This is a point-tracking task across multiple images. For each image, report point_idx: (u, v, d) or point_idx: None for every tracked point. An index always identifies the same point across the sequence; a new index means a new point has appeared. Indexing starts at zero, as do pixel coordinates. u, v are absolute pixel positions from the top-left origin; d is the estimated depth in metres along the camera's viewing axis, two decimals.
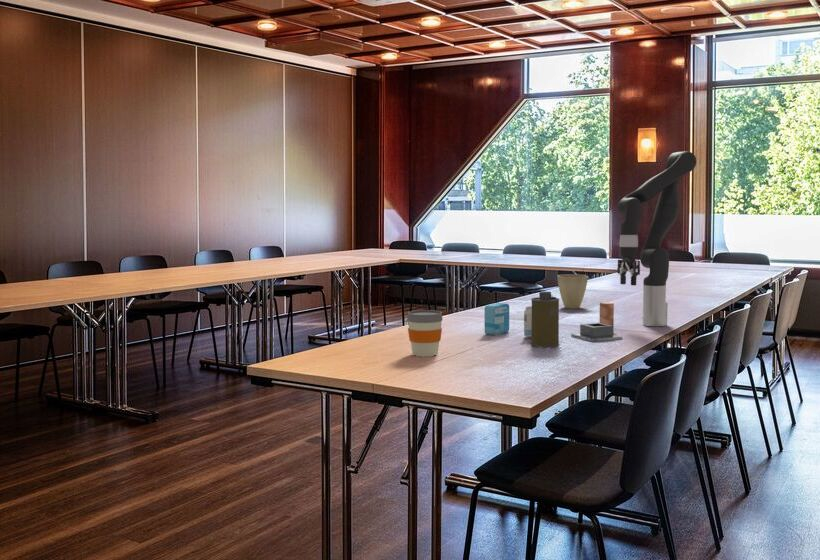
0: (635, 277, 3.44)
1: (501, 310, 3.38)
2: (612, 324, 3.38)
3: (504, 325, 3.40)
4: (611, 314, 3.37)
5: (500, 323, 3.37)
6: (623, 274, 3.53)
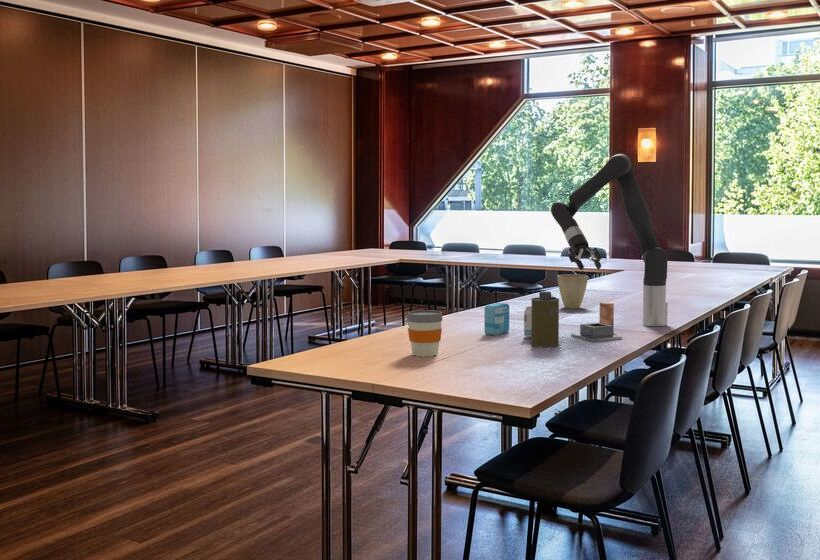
0: (577, 262, 3.47)
1: (501, 310, 3.38)
2: (612, 324, 3.38)
3: (504, 325, 3.40)
4: (611, 314, 3.37)
5: (500, 323, 3.37)
6: (595, 260, 3.51)
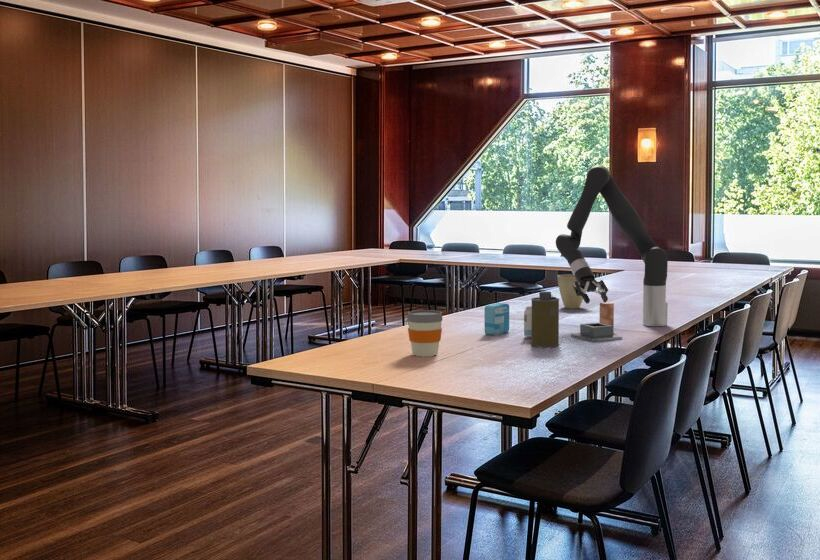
0: (583, 295, 3.44)
1: (501, 310, 3.38)
2: (612, 324, 3.38)
3: (504, 325, 3.40)
4: (611, 314, 3.37)
5: (500, 323, 3.37)
6: (601, 293, 3.48)
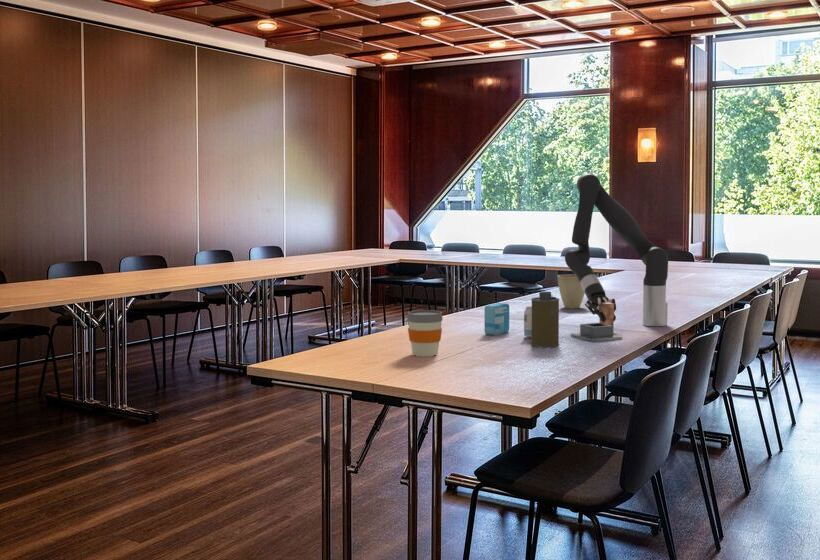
0: (599, 314, 3.38)
1: (501, 310, 3.38)
2: (612, 324, 3.38)
3: (504, 325, 3.40)
4: (611, 314, 3.37)
5: (500, 323, 3.37)
6: None
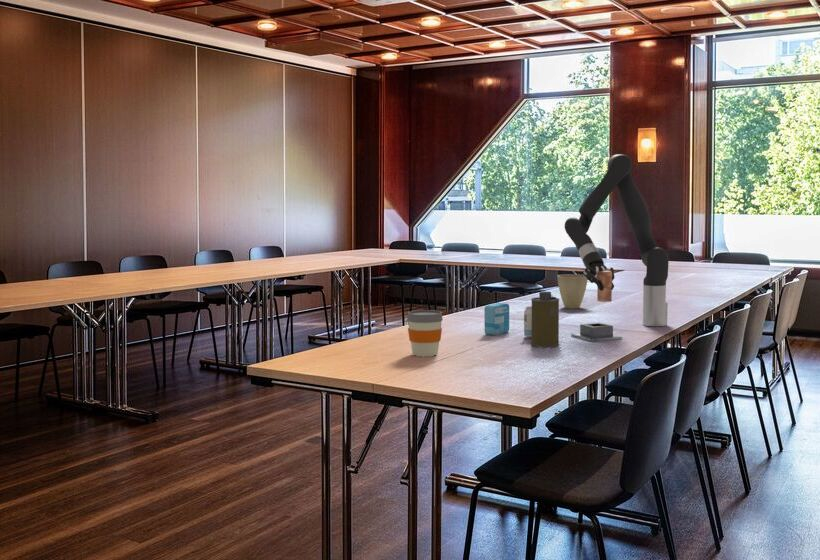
0: (597, 282, 3.35)
1: (501, 310, 3.38)
2: (610, 293, 3.35)
3: (504, 325, 3.40)
4: (609, 282, 3.34)
5: (500, 323, 3.37)
6: None
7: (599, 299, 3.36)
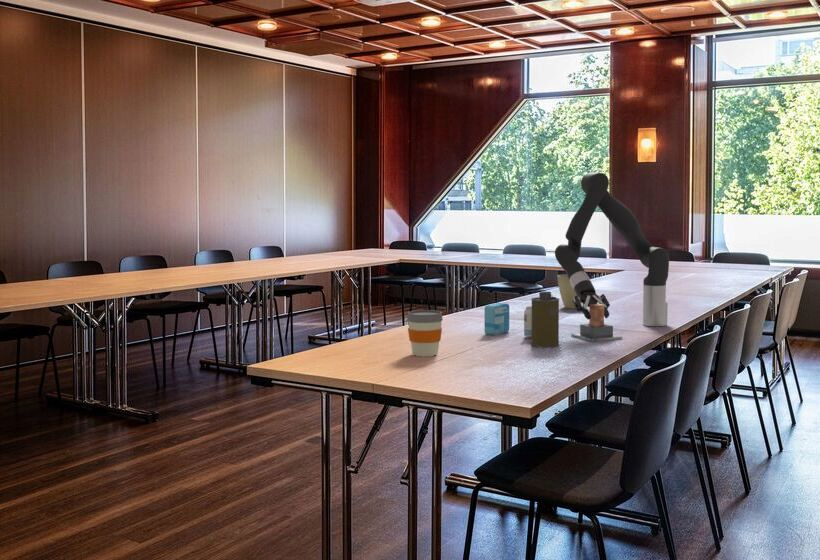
0: (584, 311, 3.25)
1: (501, 310, 3.38)
2: None
3: (504, 325, 3.40)
4: (601, 316, 3.25)
5: (500, 323, 3.37)
6: None
7: None
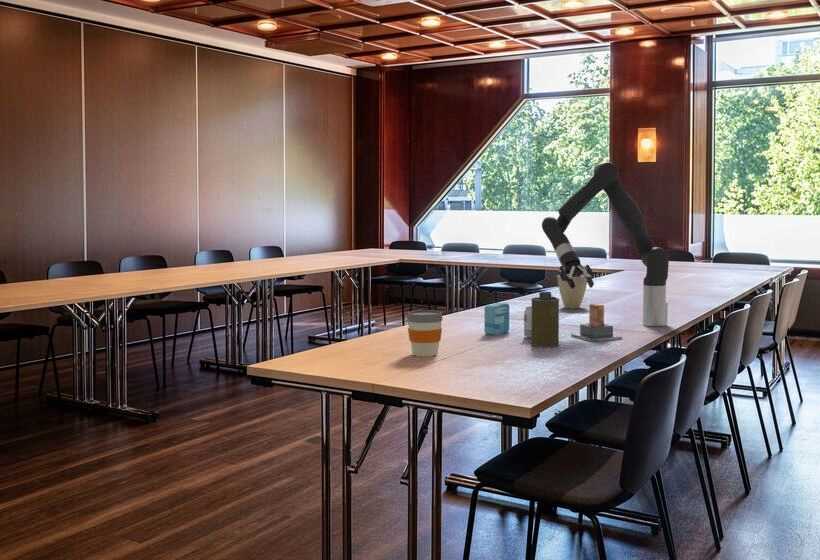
0: (568, 280, 3.34)
1: (501, 310, 3.38)
2: None
3: (504, 325, 3.40)
4: (601, 316, 3.25)
5: (500, 323, 3.37)
6: (587, 278, 3.38)
7: None
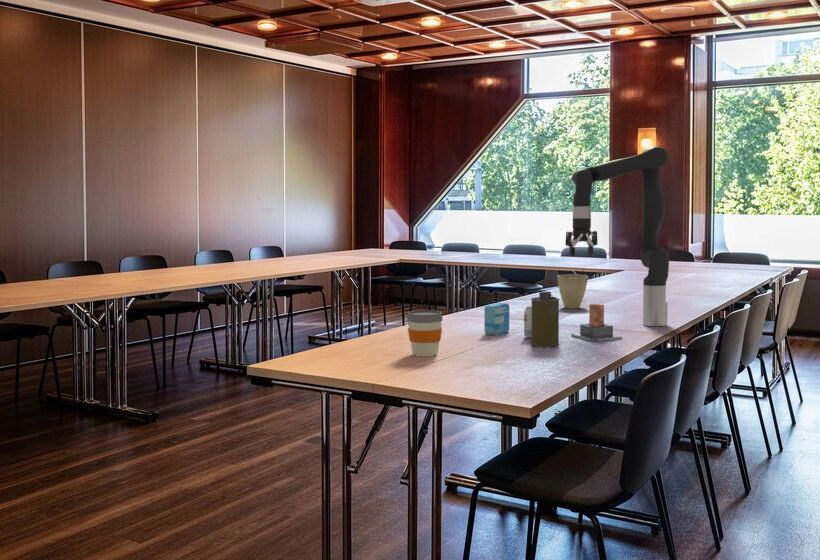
0: (570, 248, 3.49)
1: (501, 310, 3.38)
2: None
3: (504, 325, 3.40)
4: (601, 316, 3.25)
5: (500, 323, 3.37)
6: (589, 245, 3.53)
7: None
